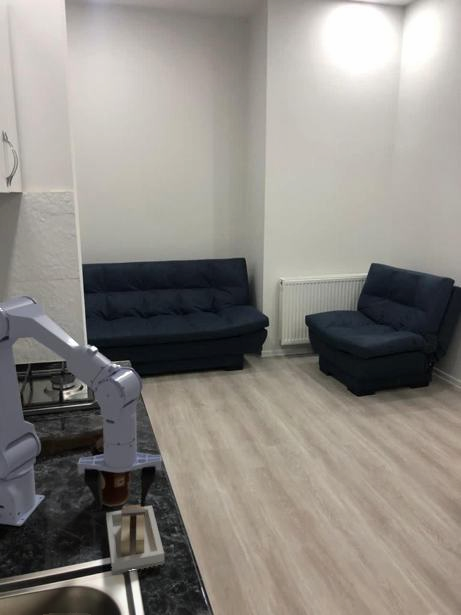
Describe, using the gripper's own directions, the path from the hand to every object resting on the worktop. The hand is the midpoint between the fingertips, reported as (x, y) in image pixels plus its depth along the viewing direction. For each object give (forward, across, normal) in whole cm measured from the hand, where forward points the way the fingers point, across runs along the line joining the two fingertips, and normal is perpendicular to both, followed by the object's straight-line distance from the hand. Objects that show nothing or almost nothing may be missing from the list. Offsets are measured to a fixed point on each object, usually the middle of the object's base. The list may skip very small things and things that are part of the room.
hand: (121, 504), depth 92 cm
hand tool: (+9, +15, -35) cm, 39 cm away
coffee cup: (+9, +3, -14) cm, 17 cm away
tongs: (+8, -2, 0) cm, 8 cm away
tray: (+8, -2, 0) cm, 9 cm away
